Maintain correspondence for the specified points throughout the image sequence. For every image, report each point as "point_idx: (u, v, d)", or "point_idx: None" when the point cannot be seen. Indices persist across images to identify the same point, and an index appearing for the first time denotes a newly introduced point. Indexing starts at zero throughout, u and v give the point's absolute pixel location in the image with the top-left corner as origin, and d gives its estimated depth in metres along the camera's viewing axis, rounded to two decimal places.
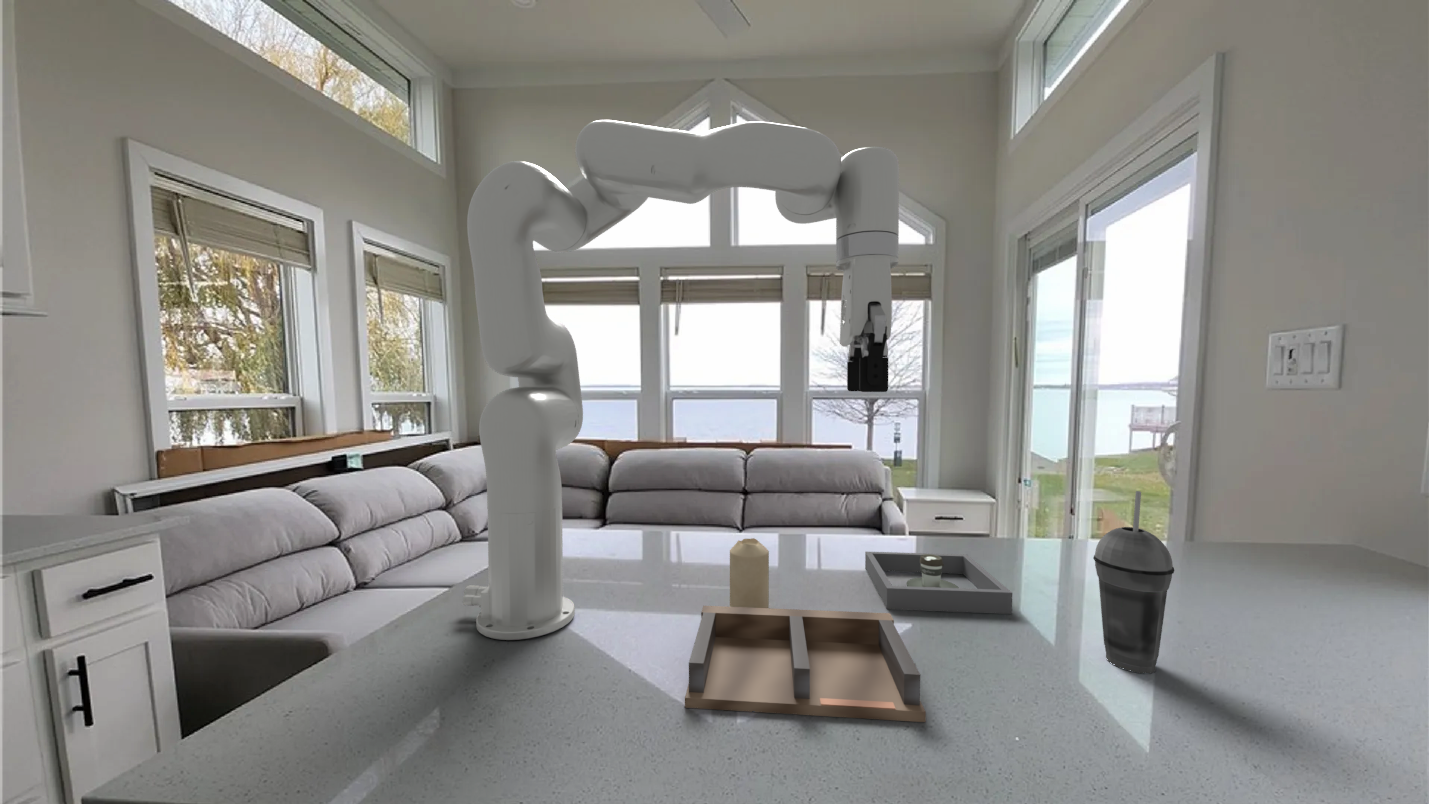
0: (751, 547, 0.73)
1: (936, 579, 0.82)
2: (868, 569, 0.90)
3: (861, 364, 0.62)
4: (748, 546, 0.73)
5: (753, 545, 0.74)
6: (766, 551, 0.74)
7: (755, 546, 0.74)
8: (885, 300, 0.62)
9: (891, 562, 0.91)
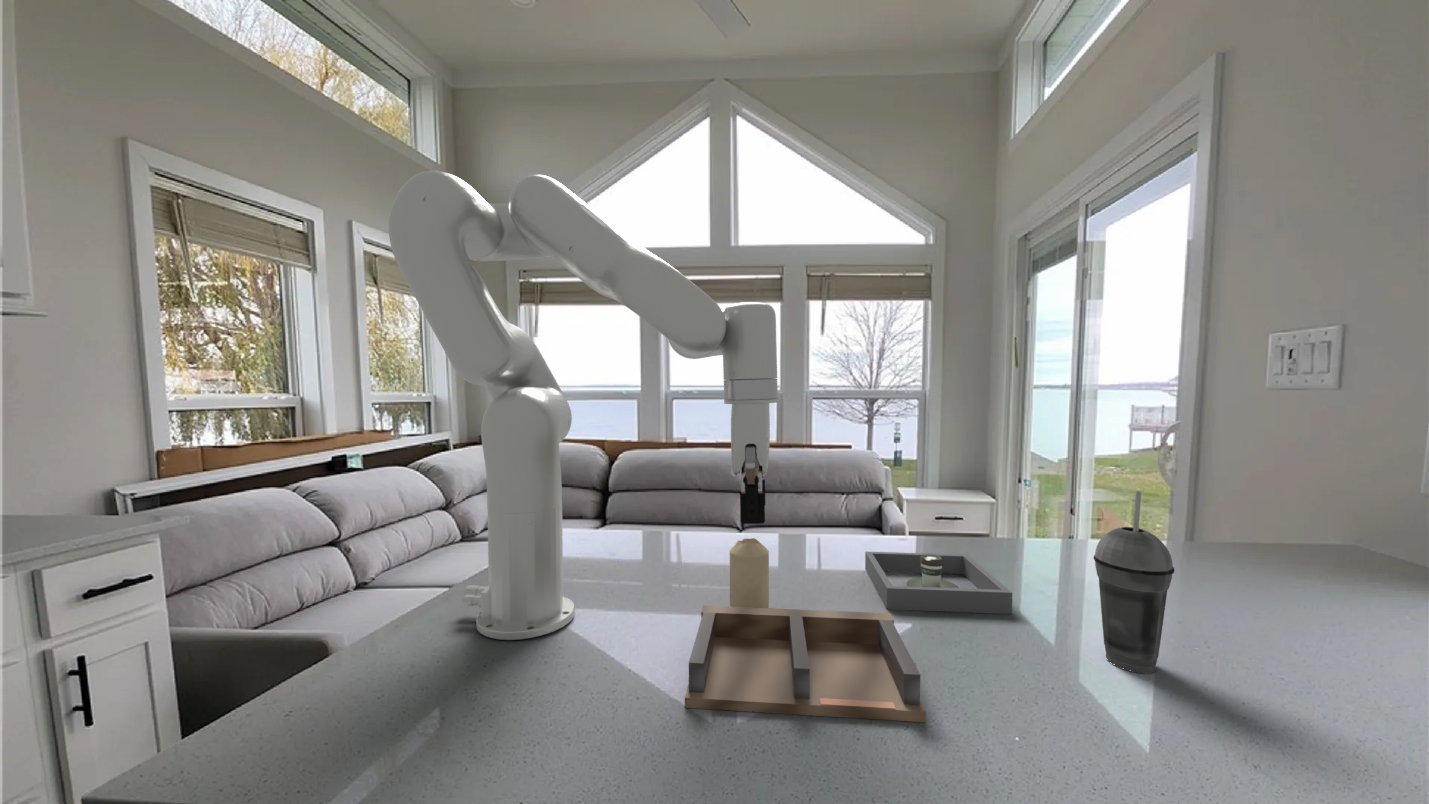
0: (751, 547, 0.73)
1: (937, 579, 0.82)
2: (868, 569, 0.90)
3: (741, 499, 0.70)
4: (748, 546, 0.73)
5: (753, 545, 0.74)
6: (766, 551, 0.74)
7: (755, 546, 0.74)
8: (760, 442, 0.70)
9: (891, 562, 0.91)
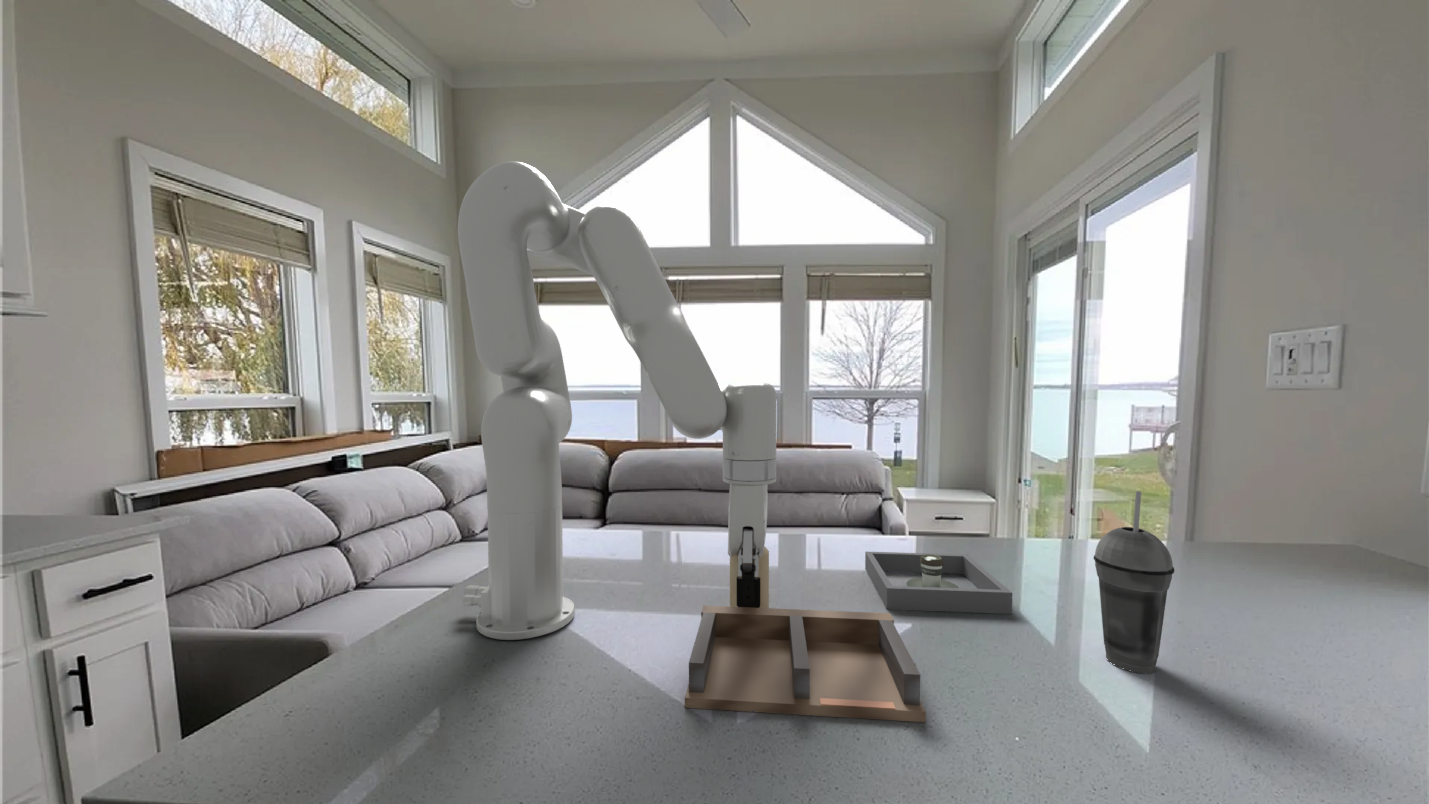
0: None
1: (937, 579, 0.82)
2: (868, 569, 0.90)
3: (737, 583, 0.72)
4: None
5: None
6: (766, 551, 0.74)
7: None
8: (757, 525, 0.70)
9: (891, 562, 0.91)
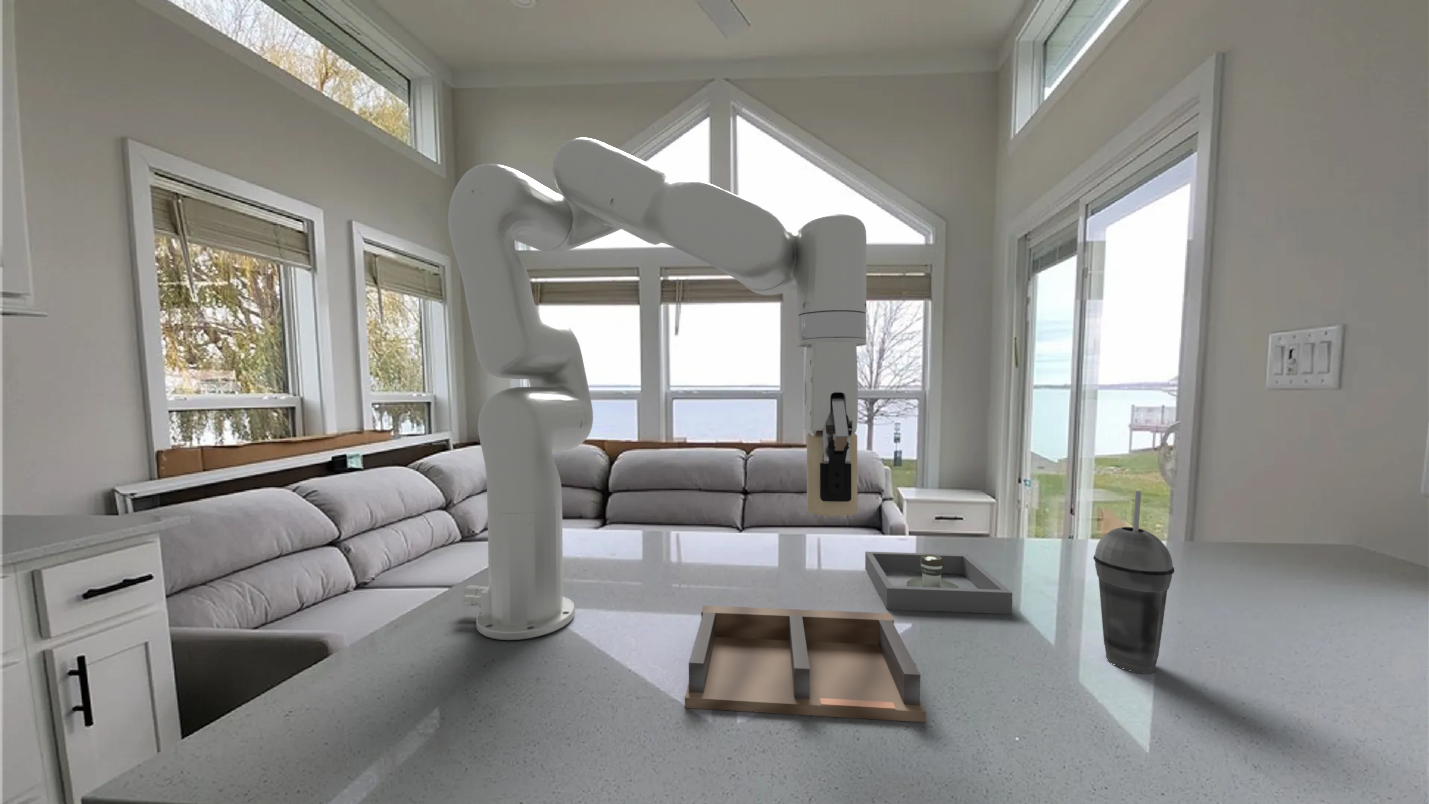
0: None
1: (937, 579, 0.82)
2: (868, 569, 0.90)
3: (821, 471, 0.56)
4: None
5: None
6: None
7: None
8: (850, 391, 0.54)
9: (891, 562, 0.91)
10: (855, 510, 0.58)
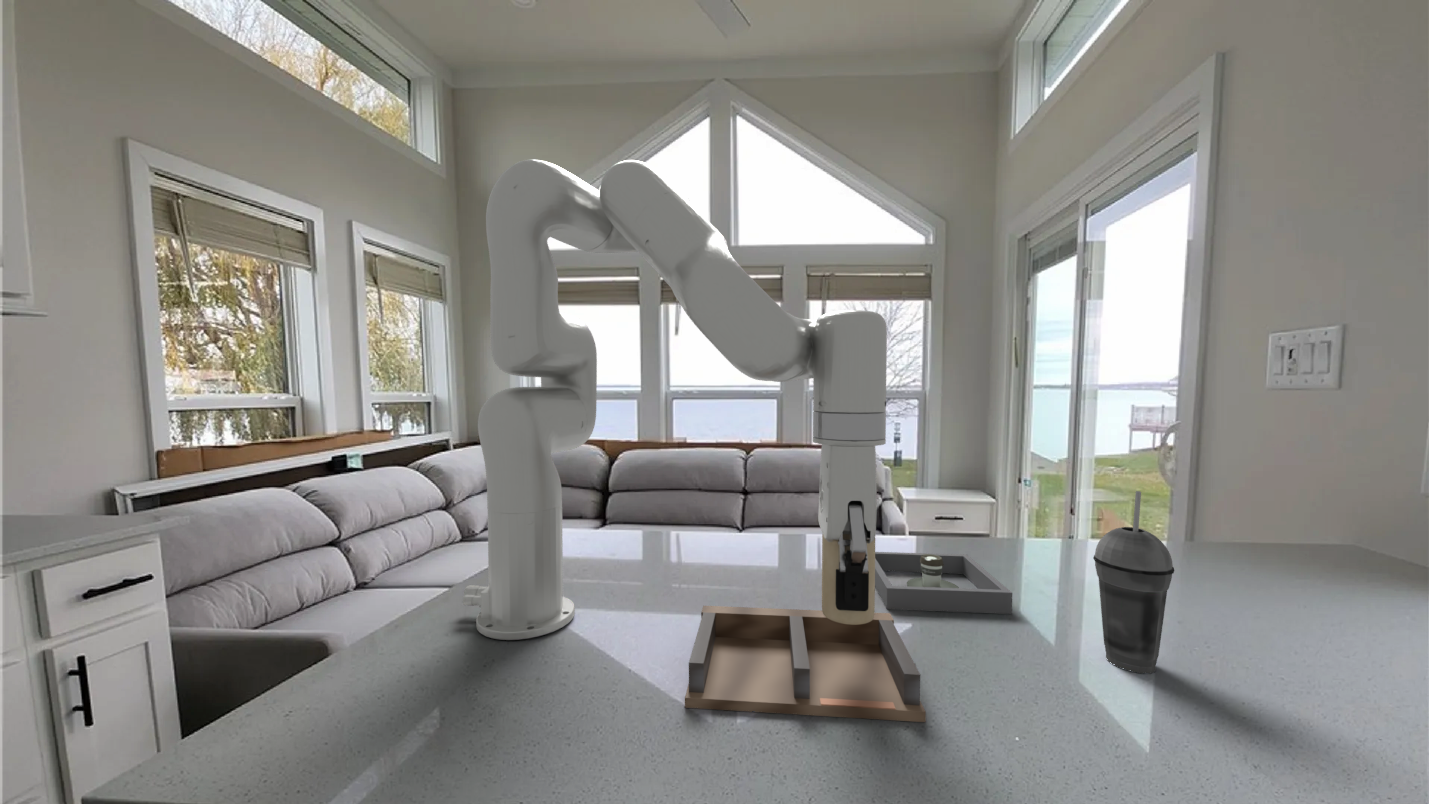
0: None
1: (937, 579, 0.82)
2: None
3: (837, 578, 0.54)
4: None
5: None
6: None
7: None
8: (868, 499, 0.52)
9: (891, 562, 0.91)
10: (872, 616, 0.56)
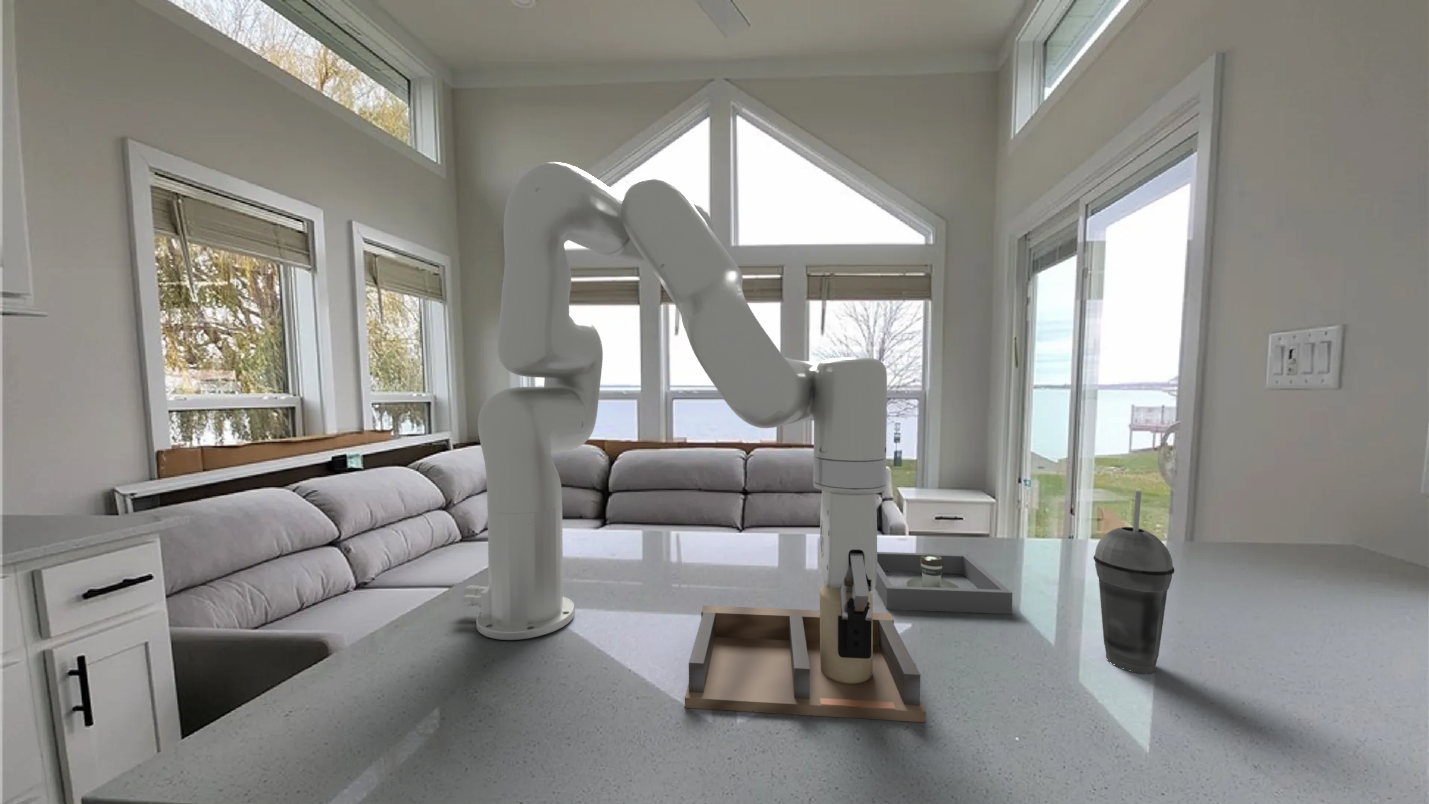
0: None
1: (937, 579, 0.82)
2: None
3: (840, 625, 0.53)
4: None
5: None
6: (870, 593, 0.56)
7: None
8: (869, 548, 0.52)
9: (891, 562, 0.91)
10: (870, 674, 0.56)
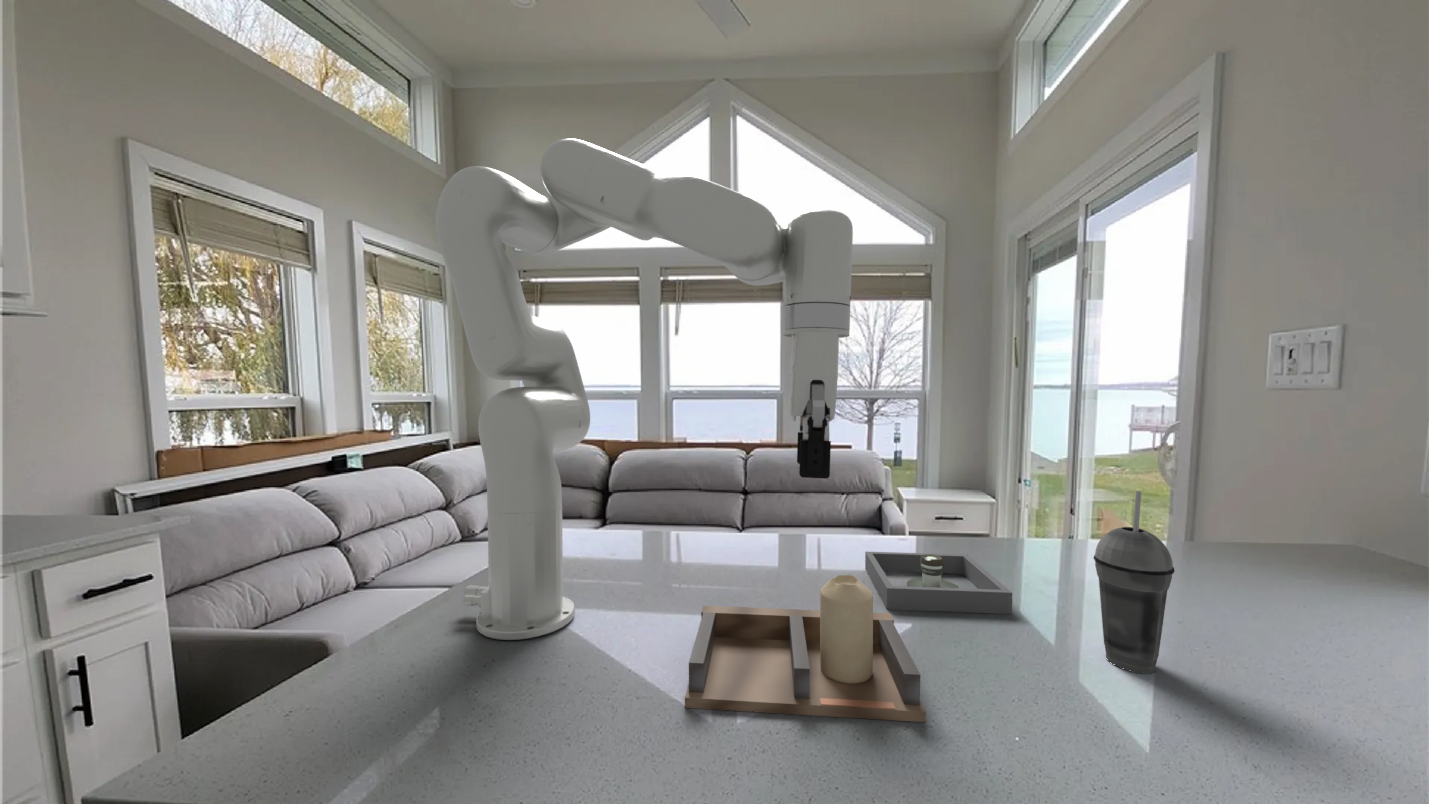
0: (851, 589, 0.56)
1: (937, 579, 0.82)
2: (868, 569, 0.90)
3: (801, 447, 0.57)
4: (847, 587, 0.56)
5: (854, 586, 0.56)
6: (870, 593, 0.56)
7: (856, 587, 0.56)
8: (829, 379, 0.57)
9: (891, 562, 0.91)
10: (870, 674, 0.56)
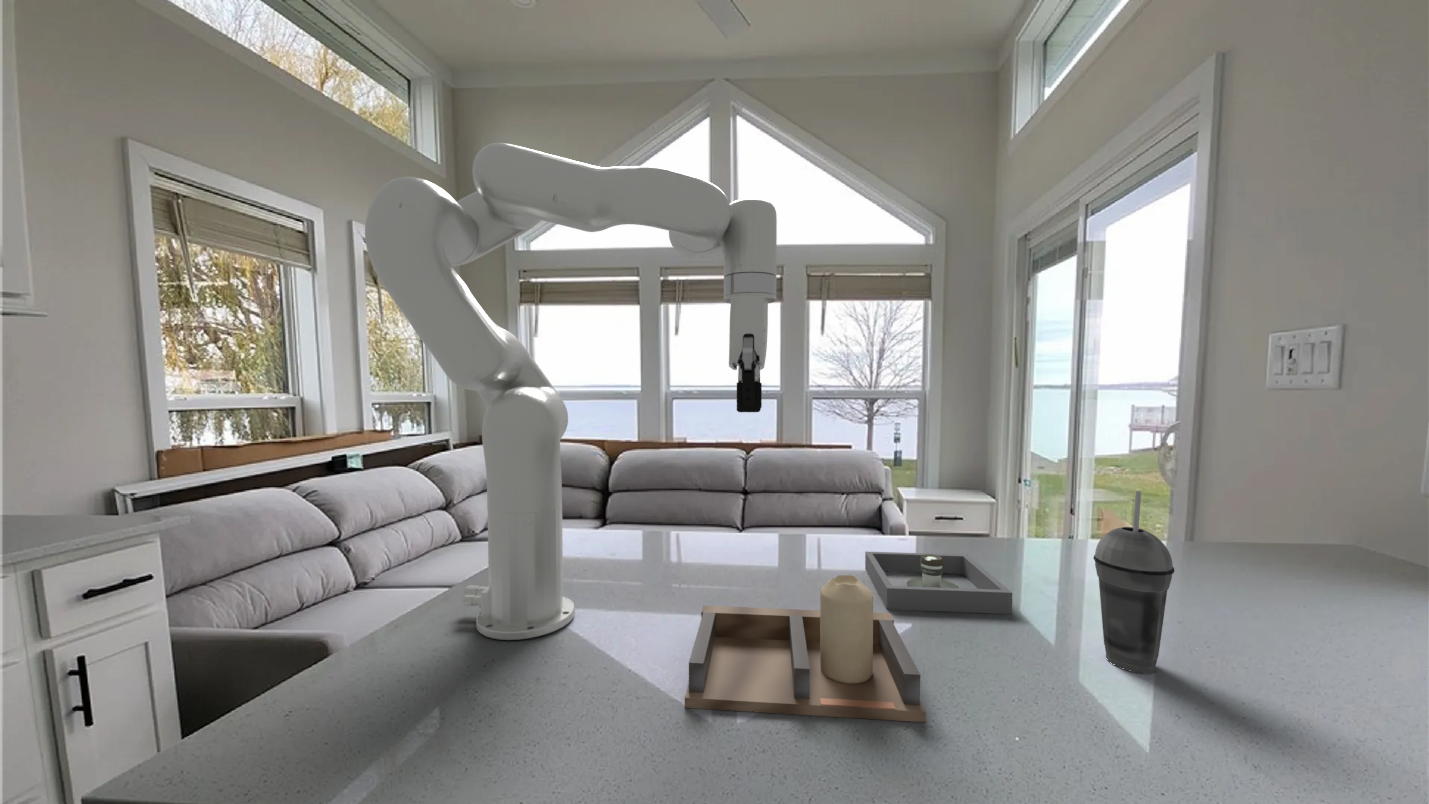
0: (852, 589, 0.56)
1: (937, 579, 0.82)
2: (868, 569, 0.90)
3: (737, 388, 0.72)
4: (848, 587, 0.56)
5: (854, 586, 0.56)
6: (870, 593, 0.56)
7: (856, 587, 0.56)
8: (757, 332, 0.71)
9: (891, 562, 0.91)
10: (870, 675, 0.56)
